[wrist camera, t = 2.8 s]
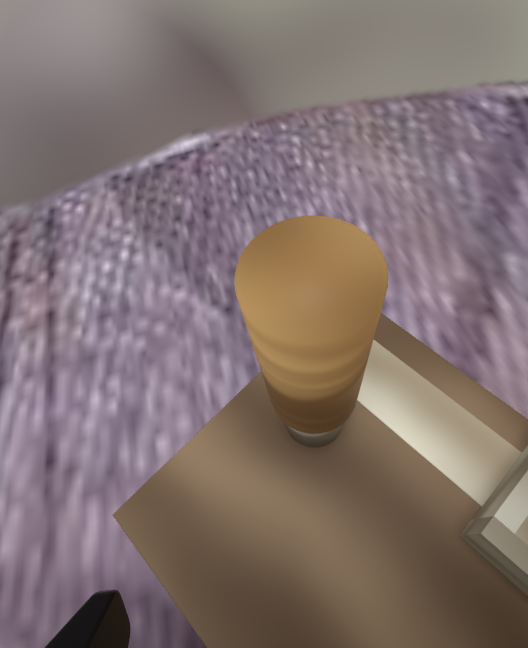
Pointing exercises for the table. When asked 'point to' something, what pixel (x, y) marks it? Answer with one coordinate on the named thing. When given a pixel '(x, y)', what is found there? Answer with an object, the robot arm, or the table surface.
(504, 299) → the table surface
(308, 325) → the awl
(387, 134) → the table surface
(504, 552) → the board
